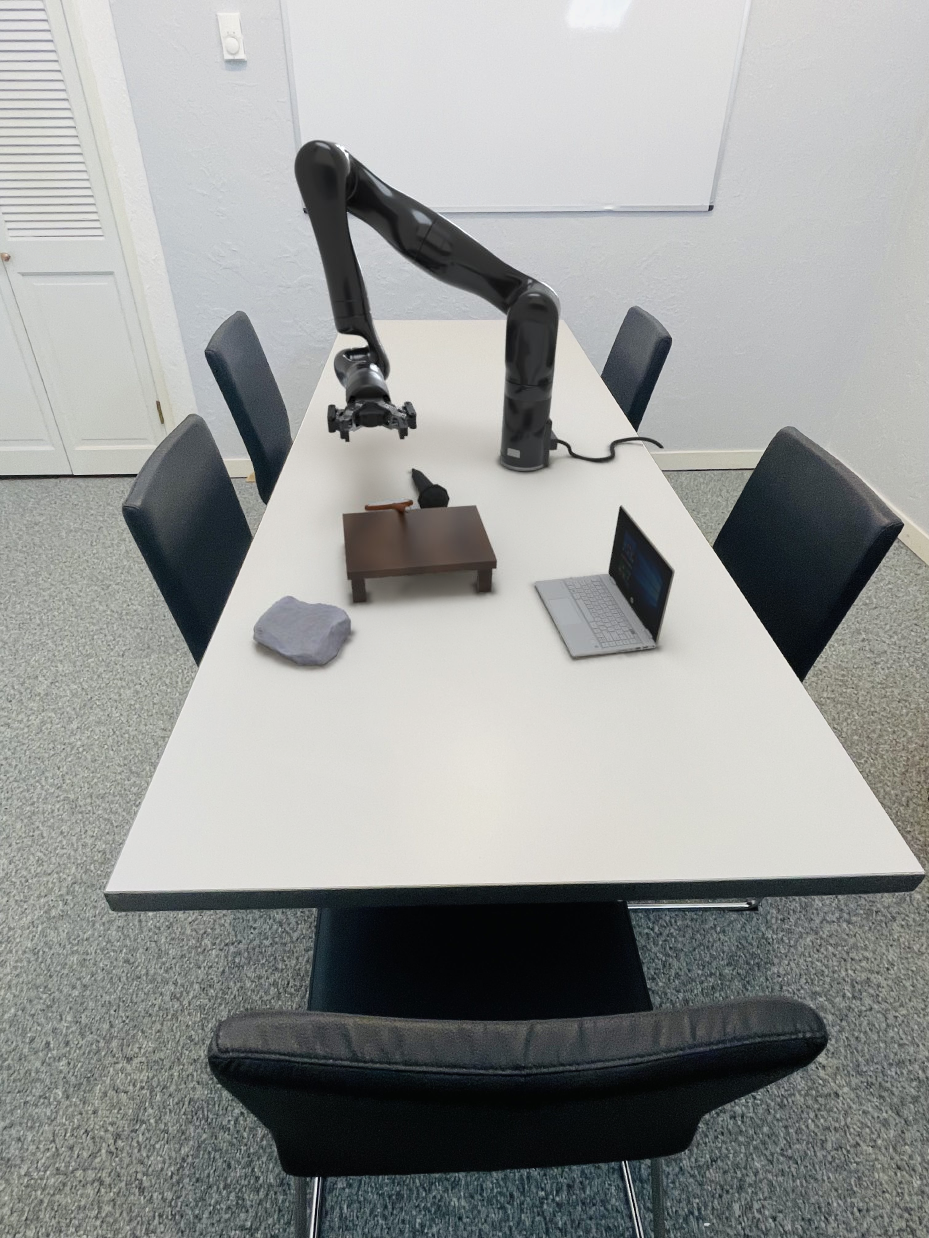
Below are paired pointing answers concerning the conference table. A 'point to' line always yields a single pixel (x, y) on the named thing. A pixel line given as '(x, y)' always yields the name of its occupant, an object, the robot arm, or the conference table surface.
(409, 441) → the conference table surface
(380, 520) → the walnut table
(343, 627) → the stone block
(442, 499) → the microphone
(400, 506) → the magnifying glass
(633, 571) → the laptop
